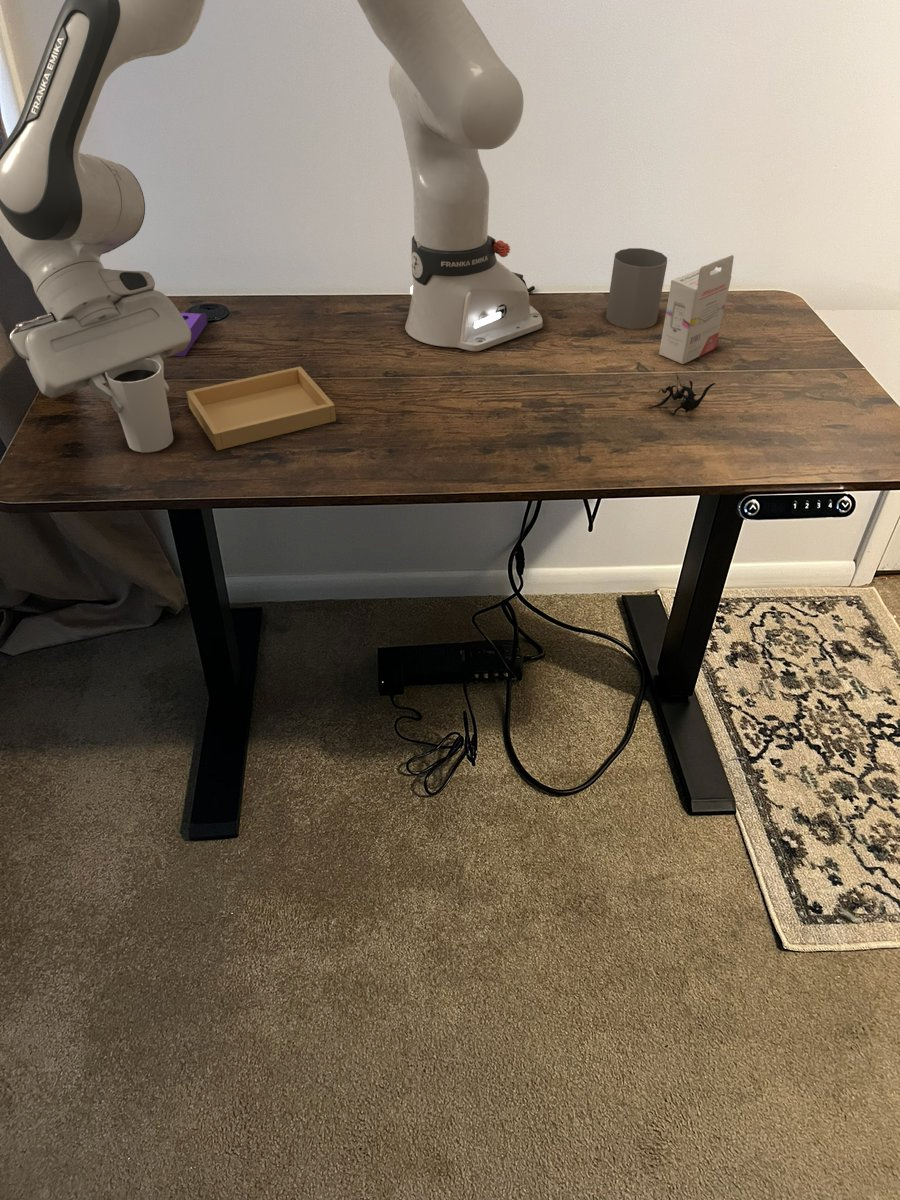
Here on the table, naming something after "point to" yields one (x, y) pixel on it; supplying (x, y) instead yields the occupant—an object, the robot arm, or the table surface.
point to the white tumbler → (142, 404)
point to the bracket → (193, 328)
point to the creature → (689, 401)
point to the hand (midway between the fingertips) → (144, 401)
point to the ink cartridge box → (695, 311)
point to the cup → (636, 288)
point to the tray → (260, 407)
